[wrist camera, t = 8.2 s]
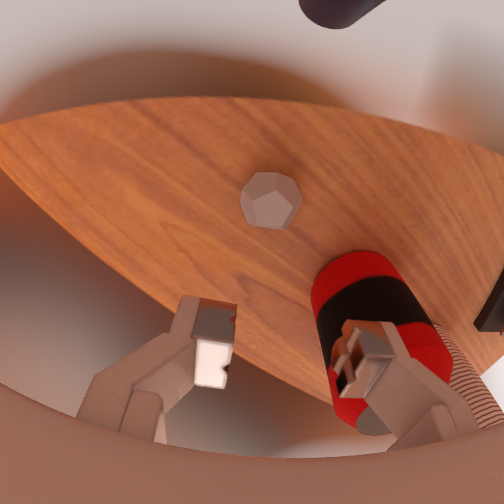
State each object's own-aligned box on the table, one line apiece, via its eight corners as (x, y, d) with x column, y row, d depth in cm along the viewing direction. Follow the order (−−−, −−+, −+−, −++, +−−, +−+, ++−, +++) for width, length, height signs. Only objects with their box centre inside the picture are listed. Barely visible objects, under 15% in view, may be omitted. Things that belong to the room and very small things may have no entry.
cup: (460, 304, 25) (533, 420, 11) (441, 359, 28) (489, 463, 15) (389, 322, 25) (450, 467, 12) (379, 376, 29) (415, 497, 15)
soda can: (410, 264, 22) (484, 368, 12) (367, 330, 26) (407, 440, 15) (335, 235, 21) (394, 358, 11) (295, 313, 25) (313, 441, 14)
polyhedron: (231, 205, 20) (226, 222, 18) (256, 156, 19) (256, 165, 16) (282, 229, 21) (286, 250, 18) (309, 183, 20) (318, 197, 17)
